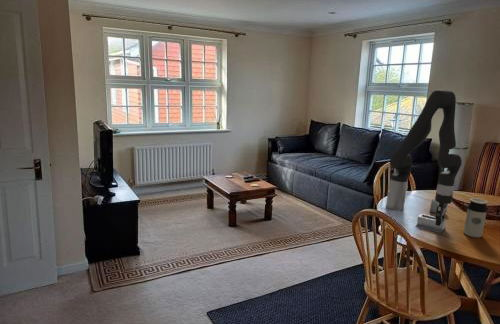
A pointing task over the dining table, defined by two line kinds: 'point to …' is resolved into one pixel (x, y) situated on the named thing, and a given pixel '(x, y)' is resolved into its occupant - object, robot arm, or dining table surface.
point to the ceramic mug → (434, 206)
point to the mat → (428, 228)
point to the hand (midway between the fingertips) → (439, 222)
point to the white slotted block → (430, 222)
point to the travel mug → (475, 217)
